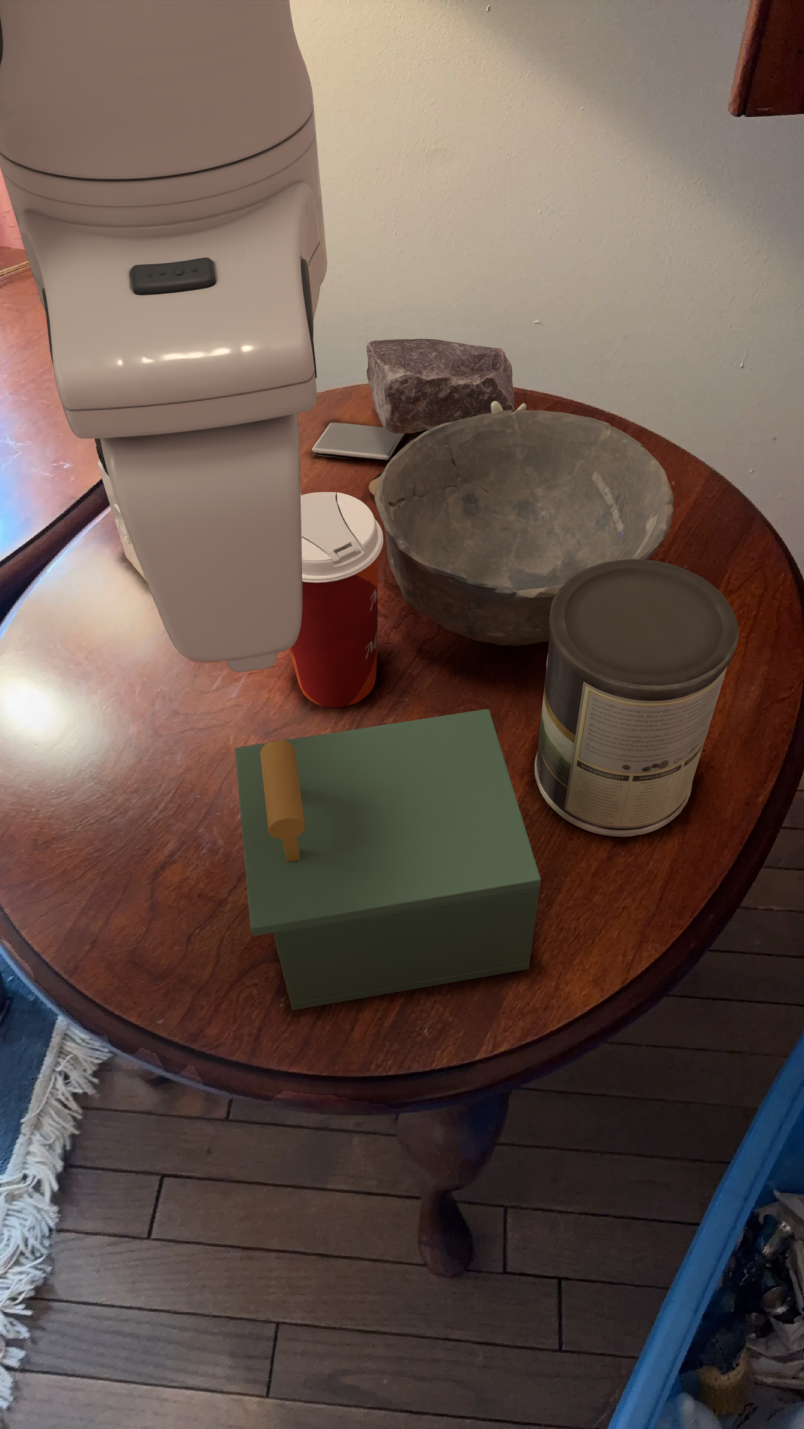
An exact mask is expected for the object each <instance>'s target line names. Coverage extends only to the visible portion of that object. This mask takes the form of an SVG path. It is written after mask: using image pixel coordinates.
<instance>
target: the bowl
mask: <svg viewBox="0 0 804 1429" xmlns="http://www.w3.org/2000/svg"><path fill="white" fill-rule="evenodd" d="M516 410H517V409H516ZM516 410H515V411H516ZM401 448H402V447H401ZM401 448H400V449H399V450H398V451H397V453H396V455H395V456H394V457H393V458H392V459H391V461H390V462H389V463H386V466H385V468H384V469H383V470H384V471H383V470H382V471H383V473H382V474H381V476H380V479H379V481H378V483H377V487H376V491H375V496H374V502H375V505H376V506H375V507H376V509H377V512H378V514H379V517H380V520H381V523H382V525H383V528H384V531H385V532H384V535H385V536H384V537H385V545H386V546H385V547H386V556H387V561H388V564H389V568H390V570H391V573H392V575H393V576H394V579H395V582H396V584H397V585H398V586H399V588H400V592H401V595H402V598H403V600H404V601H405V603H406V604H407V605H408V606H410V607H411V608H412V609H413V610H415V611H417V612H419V613H421V614H422V615H425V616H426V617H428V618H429V619H430V621H431V620H432V622H434V623H436V624H437V625H439V626H441V627H442V628H444V630H446V631H448V632H451V633H455V634H457V635H459V636H461V637H463V638H467V639H471V640H473V641H474V642H479V643H488V644H489V643H490V644H494V645H496V646H511V647H512V646H513V647H519V646H530V645H535V644H539V643H549V638H550V626H549V618H550V610H551V605H552V602H553V600H554V597H555V596H556V594H557V592H558V591H559V589H560V588H561V587H562V586H563V585H564V584H565V583H566V582H567V581H568V580H569V579H570V578H572V577H573V576H574V575H576V574H577V573H579V572H581V571H583V570H585V569H587V568H589V567H591V566H594V565H597V564H600V563H604V562H610V561H616V560H627V559H645V560H650V559H651V557H653V555H655V553H656V552H657V551H658V549H659V548H660V547H661V546H662V545H663V543H664V542H665V540H666V537H667V536H668V534H669V531H670V529H671V526H672V520H673V515H674V502H675V498H674V492H673V489H672V486H671V484H670V482H669V480H668V477H667V474H666V470H665V469H664V467H663V466H662V464H660V462H659V461H658V460H657V459H656V458H655V457H654V456H653V455H652V454H651V453H650V452H649V451H648V450H647V449H646V448H645V447H644V445H643V444H642V443H641V442H639V441H638V440H637V439H635V438H634V437H632V435H629V434H628V433H626V432H624V431H623V430H620V429H618V428H617V427H615V426H614V425H613V426H612V424H610V423H609V422H606V421H603V420H599V419H597V418H594V417H589V416H583V415H578V414H573V413H567V412H562V411H551V410H541V409H538V410H531V409H530V410H528V409H526V410H517V411H516V412H514V413H512V411H511V410H508V411H499V412H496V413H486V414H482V415H477V416H473V417H468V418H464V419H460V420H456V421H453V422H449V423H444V424H441V425H439V426H436V427H433V428H431V429H429V430H427V431H426V432H424V433H423V434H421V435H420V436H418V437H417V438H416V439H415V440H413V441H412V442H410V443H409V444H408V445H406V446H405V447H404V448H402V449H401Z"/></svg>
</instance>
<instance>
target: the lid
mask: <svg viewBox="0 0 804 1429" xmlns="http://www.w3.org/2000/svg"><path fill="white" fill-rule="evenodd" d="M234 754H235V765H236V766H235V767H236V778H237V789H238V801H239V814H240V825H241V835H242V848H243V861H244V870H245V883H246V893H247V894H246V895H247V905H248V906H247V907H248V917H249V929H250V932H251V935H252V937H256V936H263V935H267V934H273V933H274V932H280V931H286V930H292V929H298V928H304V927H310V926H316V925H321V924H327V923H333V922H339V921H345V920H351V919H357V918H363V917H368V916H374V915H380V914H386V913H392V912H398V911H404V910H410V909H415V908H421V907H427V906H433V905H439V904H445V903H451V902H457V901H463V900H468V899H474V898H480V897H486V896H492V895H498V894H504V893H510V892H515V891H521V890H527V889H533V888H539V887H541V881H542V877H541V874H540V871H539V868H538V865H537V861H536V858H535V856H534V851H533V849H532V848H533V847H532V846H531V841H530V838H529V836H528V835H529V834H528V832H527V829H526V824H525V822H524V818H523V816H522V812H521V809H520V805H519V802H518V798H517V796H516V792H515V790H514V786H513V783H512V779H511V776H510V773H509V769H508V766H507V764H506V760H505V756H504V753H503V749H502V746H501V744H500V740H499V737H498V734H497V730H496V727H495V723H494V721H493V717H492V713H491V710H490V709H489V708H484V709H478V710H472V711H465V712H458V713H452V714H444V715H438V716H433V717H432V716H431V717H426V718H419V719H414V720H407V721H400V722H395V723H394V722H393V723H387V724H381V725H374V726H368V727H361V728H355V729H348V730H341V731H336V732H335V731H334V732H329V733H328V732H327V733H324V734H316V735H309V736H303V737H297V738H290V739H284V740H280V739H279V740H278V739H277V740H272V741H269V742H264V743H258V744H252V745H251V744H250V745H245V746H244V745H243V746H237V747H234Z"/></svg>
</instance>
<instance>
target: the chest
mask: <svg viewBox="0 0 804 1429" xmlns="http://www.w3.org/2000/svg"><path fill="white" fill-rule="evenodd" d="M540 887H541V886H540ZM540 887H539V888H533V889H527V890H521V891H515V892H510V893H504V894H498V895H492V896H486V897H480V898H474V899H468V900H463V901H457V902H451V903H445V904H439V905H433V906H427V907H421V908H415V909H410V910H404V911H398V912H392V913H386V914H380V915H374V916H368V917H363V918H357V919H351V920H345V921H339V922H333V923H327V924H321V925H316V926H310V927H304V928H298V929H292V930H286V931H280V932H274V933H272V935H273V940H274V943H275V947H276V951H277V955H278V958H279V963H280V967H281V971H282V974H283V980H284V982H285V987H286V992H287V994H288V998H289V1002H290V1006H291V1007H290V1008H291V1010H292V1011H296V1010H302V1009H309V1008H314V1007H319V1006H324V1005H325V1006H327V1005H331V1004H337V1003H343V1002H348V1001H354V1000H360V999H366V998H371V997H377V996H382V995H387V994H394V993H400V992H404V991H411V990H416V989H423V988H428V987H434V986H439V985H445V984H451V983H457V982H462V981H463V982H464V981H468V980H469V981H470V980H474V979H480V978H485V977H490V976H496V975H497V976H498V975H503V974H508V973H515V972H519V971H526V970H529V969H530V964H531V955H532V948H533V941H534V934H535V927H536V918H537V911H538V904H539V896H540Z"/></svg>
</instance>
